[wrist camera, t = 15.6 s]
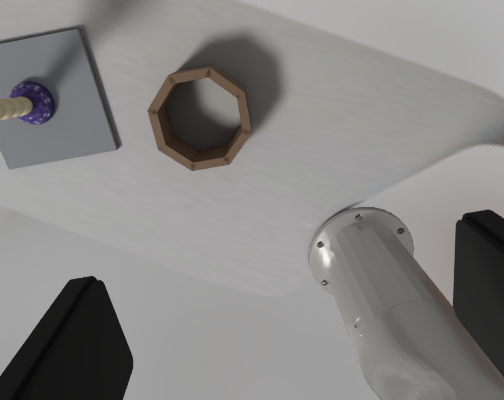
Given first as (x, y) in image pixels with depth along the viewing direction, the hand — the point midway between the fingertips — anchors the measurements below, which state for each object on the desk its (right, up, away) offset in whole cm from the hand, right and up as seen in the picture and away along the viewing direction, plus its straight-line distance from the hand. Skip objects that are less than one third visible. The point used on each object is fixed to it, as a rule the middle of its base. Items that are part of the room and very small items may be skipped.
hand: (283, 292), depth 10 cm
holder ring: (-6, +12, +30) cm, 33 cm away
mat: (-22, +12, +29) cm, 39 cm away
